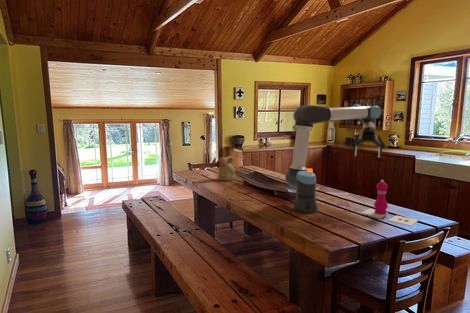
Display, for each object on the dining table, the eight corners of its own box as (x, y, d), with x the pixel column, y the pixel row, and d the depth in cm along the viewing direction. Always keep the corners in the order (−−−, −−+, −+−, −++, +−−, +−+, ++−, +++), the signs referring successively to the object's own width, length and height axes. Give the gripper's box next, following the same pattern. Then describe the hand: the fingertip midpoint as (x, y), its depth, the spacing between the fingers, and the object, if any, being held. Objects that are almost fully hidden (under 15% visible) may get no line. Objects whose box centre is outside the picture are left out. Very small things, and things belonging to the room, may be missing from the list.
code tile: (411, 225, 169) (411, 225, 169) (387, 220, 178) (387, 220, 178) (418, 220, 177) (418, 220, 177) (396, 215, 186) (396, 215, 186)
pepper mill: (371, 211, 191) (373, 178, 189) (382, 210, 192) (384, 178, 189) (377, 215, 184) (379, 181, 181) (389, 214, 185) (391, 180, 182)
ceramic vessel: (213, 180, 289) (213, 152, 286) (226, 176, 305) (226, 150, 302) (228, 182, 279) (228, 154, 276) (241, 178, 295) (241, 151, 292)
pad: (380, 218, 181) (380, 216, 181) (361, 214, 189) (361, 212, 189) (387, 214, 189) (387, 212, 189) (369, 210, 197) (369, 208, 197)
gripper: (389, 134, 210) (388, 160, 198) (349, 133, 220) (346, 158, 208) (390, 127, 205) (389, 152, 193) (349, 126, 214) (346, 150, 203)
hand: (367, 155), depth 200 cm, fingers open, 13 cm apart
